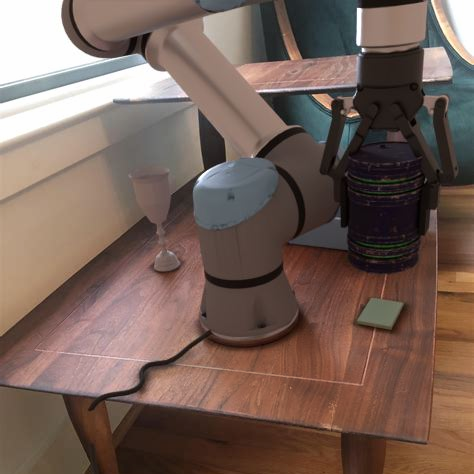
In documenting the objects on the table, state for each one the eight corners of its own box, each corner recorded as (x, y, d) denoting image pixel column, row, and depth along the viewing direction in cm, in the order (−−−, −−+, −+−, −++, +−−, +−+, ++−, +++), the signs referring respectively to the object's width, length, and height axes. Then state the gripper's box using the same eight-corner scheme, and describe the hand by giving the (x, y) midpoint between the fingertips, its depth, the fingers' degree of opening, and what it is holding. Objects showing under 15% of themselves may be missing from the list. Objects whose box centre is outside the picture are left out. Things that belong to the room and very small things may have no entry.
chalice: (192, 259, 105) (176, 166, 96) (174, 275, 100) (156, 179, 91) (160, 255, 108) (142, 165, 99) (141, 271, 103) (120, 178, 94)
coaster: (391, 330, 78) (391, 326, 78) (356, 323, 80) (357, 320, 80) (403, 305, 83) (403, 302, 83) (371, 300, 85) (371, 297, 85)
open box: (384, 254, 98) (385, 223, 95) (289, 243, 106) (287, 214, 103) (403, 225, 108) (405, 195, 105) (315, 216, 116) (314, 189, 113)
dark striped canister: (426, 272, 72) (436, 159, 64) (351, 277, 73) (351, 167, 65) (411, 240, 80) (418, 138, 72) (343, 245, 81) (343, 144, 74)
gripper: (501, 36, 60) (476, 224, 72) (310, 47, 70) (316, 210, 82) (492, 46, 55) (467, 248, 66) (287, 56, 65) (296, 230, 77)
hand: (383, 227), depth 74 cm, fingers closed on dark striped canister, 10 cm apart
